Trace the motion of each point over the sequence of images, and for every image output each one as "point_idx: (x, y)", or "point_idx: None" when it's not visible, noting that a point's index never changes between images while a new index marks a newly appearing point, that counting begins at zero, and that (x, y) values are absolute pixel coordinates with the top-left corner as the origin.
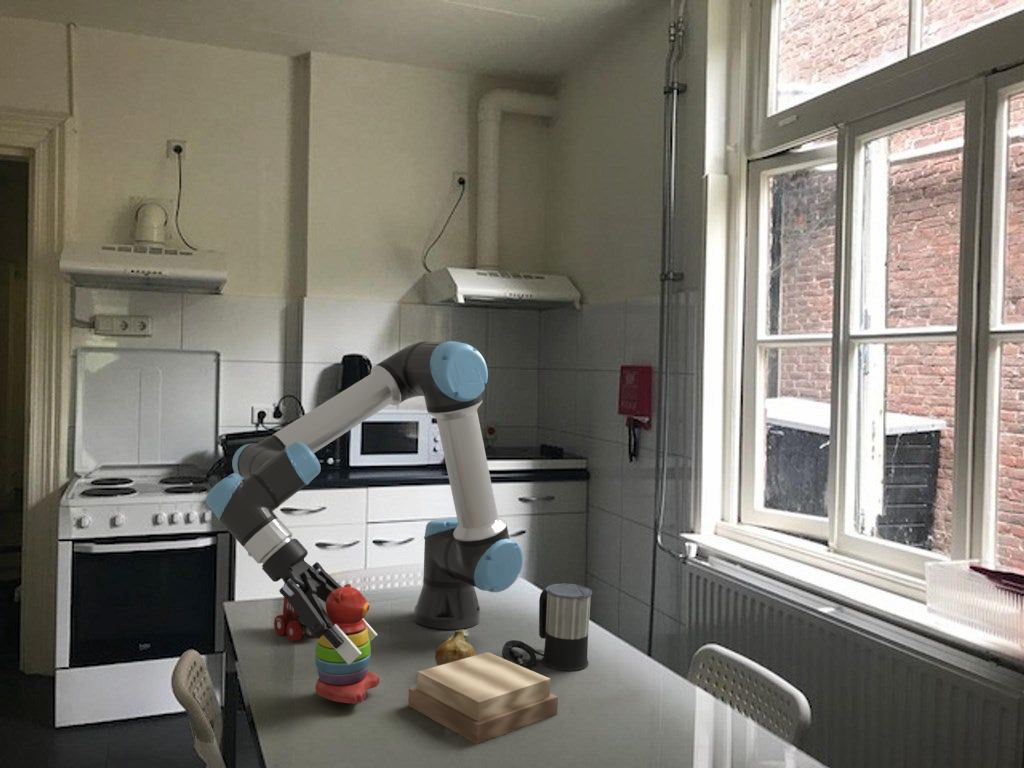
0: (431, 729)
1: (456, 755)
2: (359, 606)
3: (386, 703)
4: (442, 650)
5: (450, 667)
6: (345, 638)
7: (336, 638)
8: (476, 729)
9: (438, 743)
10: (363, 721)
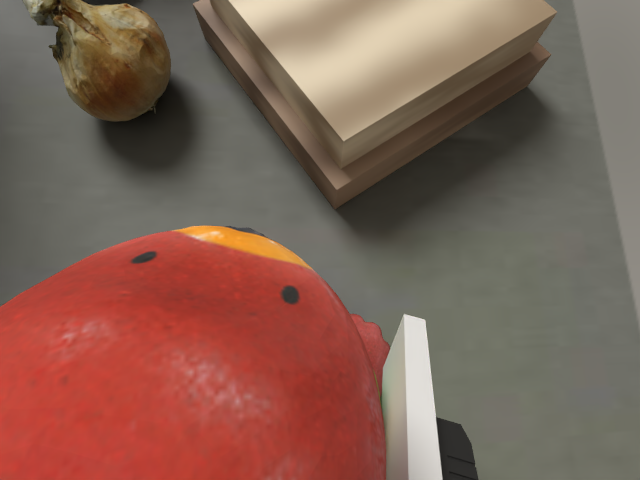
0: (464, 164)
1: (581, 124)
2: (336, 307)
3: (315, 262)
4: (127, 76)
5: (312, 56)
6: (434, 409)
7: (476, 475)
8: (541, 64)
9: (531, 154)
10: (428, 320)
